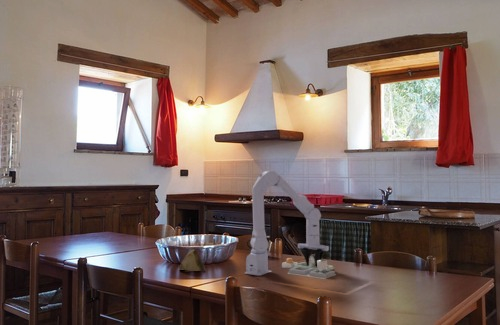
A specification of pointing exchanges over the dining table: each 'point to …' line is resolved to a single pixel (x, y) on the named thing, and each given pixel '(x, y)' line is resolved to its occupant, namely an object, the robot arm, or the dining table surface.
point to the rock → (192, 262)
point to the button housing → (288, 265)
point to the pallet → (310, 272)
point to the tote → (311, 267)
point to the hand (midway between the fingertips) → (313, 266)
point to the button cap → (290, 260)
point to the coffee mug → (266, 238)
